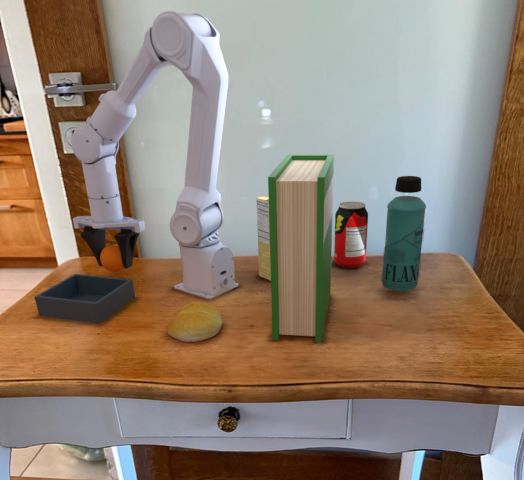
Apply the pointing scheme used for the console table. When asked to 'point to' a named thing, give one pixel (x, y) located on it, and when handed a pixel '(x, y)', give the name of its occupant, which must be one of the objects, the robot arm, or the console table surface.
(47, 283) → the console table surface
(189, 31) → the robot arm
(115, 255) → the orange
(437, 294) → the console table surface
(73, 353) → the console table surface
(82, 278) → the dark gray tray
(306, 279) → the hardback book
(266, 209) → the candy box
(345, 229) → the beverage can
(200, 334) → the bread roll
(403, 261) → the beverage bottle
